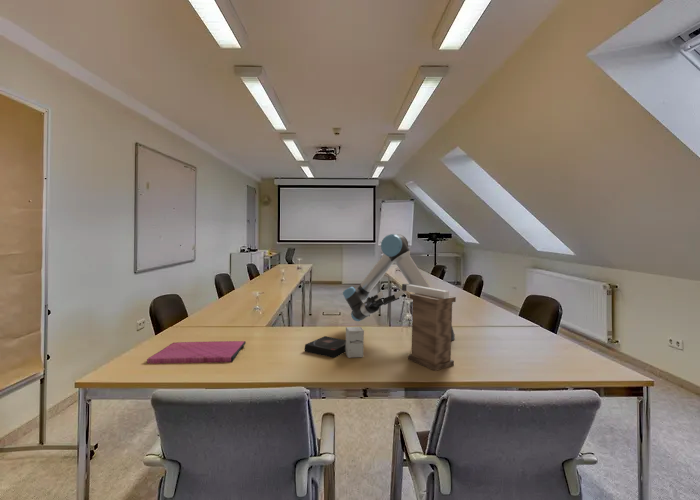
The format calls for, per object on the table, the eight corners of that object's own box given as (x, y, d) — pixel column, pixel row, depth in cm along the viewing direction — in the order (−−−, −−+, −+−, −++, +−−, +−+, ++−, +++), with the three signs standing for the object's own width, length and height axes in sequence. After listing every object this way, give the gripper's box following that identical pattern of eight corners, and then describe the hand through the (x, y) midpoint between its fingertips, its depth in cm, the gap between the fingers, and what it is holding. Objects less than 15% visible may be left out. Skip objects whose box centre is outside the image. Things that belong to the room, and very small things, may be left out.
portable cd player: (323, 343, 183) (323, 335, 183) (352, 349, 175) (352, 341, 174) (304, 352, 169) (304, 344, 169) (334, 359, 160) (334, 350, 160)
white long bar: (406, 289, 172) (406, 283, 172) (448, 298, 150) (449, 291, 150) (401, 290, 170) (402, 284, 170) (444, 298, 149) (444, 291, 148)
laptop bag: (146, 355, 150) (172, 338, 177) (146, 365, 150) (172, 346, 177) (241, 353, 153) (253, 337, 180) (241, 362, 153) (253, 344, 180)
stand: (426, 354, 167) (428, 292, 166) (453, 365, 154) (455, 297, 153) (408, 359, 160) (409, 294, 159) (434, 370, 147) (436, 299, 146)
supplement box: (347, 358, 161) (348, 330, 160) (345, 352, 168) (345, 326, 167) (363, 357, 162) (364, 330, 161) (360, 352, 169) (360, 326, 169)
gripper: (389, 311, 199) (413, 297, 183) (353, 316, 185) (375, 301, 169) (385, 298, 201) (408, 284, 186) (349, 302, 188) (370, 287, 172)
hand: (392, 292), depth 177 cm, fingers open, 13 cm apart
